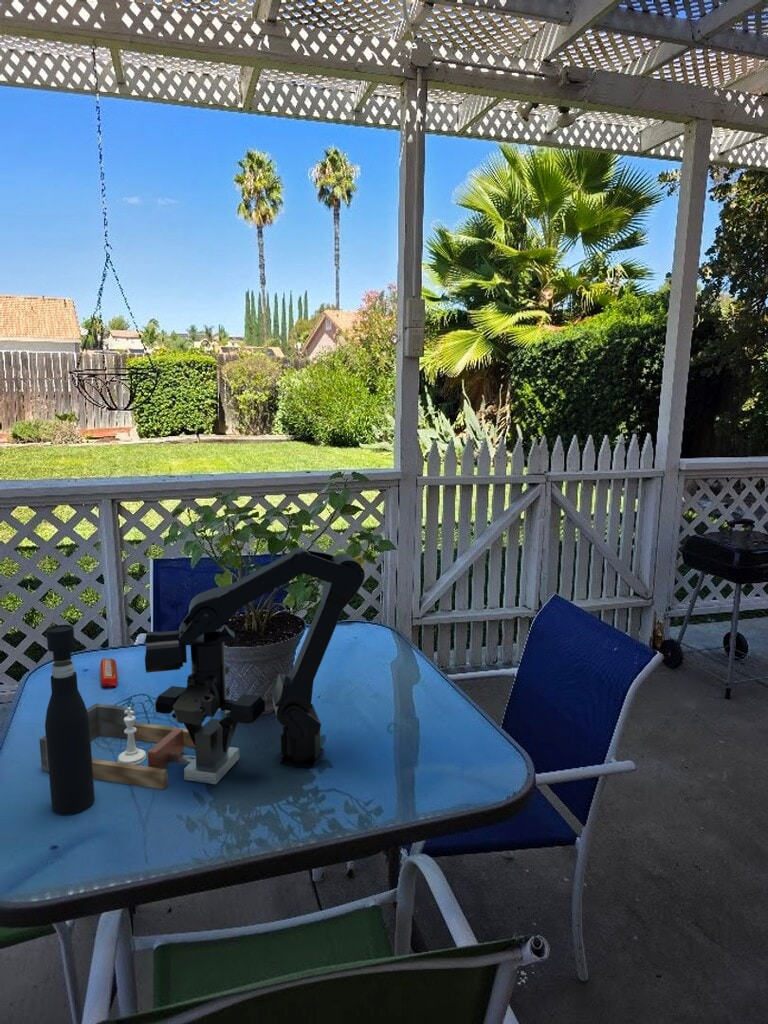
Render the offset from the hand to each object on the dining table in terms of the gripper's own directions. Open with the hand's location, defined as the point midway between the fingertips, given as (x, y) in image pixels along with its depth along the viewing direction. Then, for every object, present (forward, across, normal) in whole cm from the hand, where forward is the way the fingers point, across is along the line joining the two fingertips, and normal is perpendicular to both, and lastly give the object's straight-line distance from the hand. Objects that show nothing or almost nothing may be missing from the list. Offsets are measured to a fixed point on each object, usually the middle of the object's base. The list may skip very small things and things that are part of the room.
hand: (212, 749), depth 121 cm
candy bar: (+4, -46, +33) cm, 56 cm away
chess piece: (+4, -16, 0) cm, 17 cm away
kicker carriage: (+4, -3, 0) cm, 5 cm away
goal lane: (+4, -18, 0) cm, 18 cm away
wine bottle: (+4, -17, -15) cm, 23 cm away
